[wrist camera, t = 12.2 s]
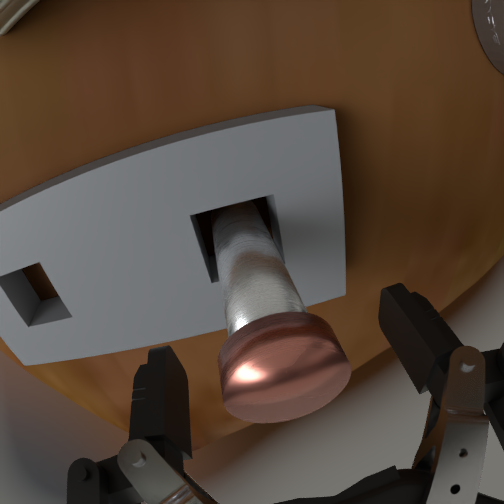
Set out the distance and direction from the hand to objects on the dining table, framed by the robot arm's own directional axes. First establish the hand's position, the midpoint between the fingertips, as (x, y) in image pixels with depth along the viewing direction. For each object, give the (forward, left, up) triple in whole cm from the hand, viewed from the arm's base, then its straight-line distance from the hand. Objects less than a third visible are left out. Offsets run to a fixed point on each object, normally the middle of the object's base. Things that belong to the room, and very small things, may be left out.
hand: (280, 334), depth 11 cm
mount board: (+7, 0, -10) cm, 12 cm away
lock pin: (0, 0, -10) cm, 10 cm away
